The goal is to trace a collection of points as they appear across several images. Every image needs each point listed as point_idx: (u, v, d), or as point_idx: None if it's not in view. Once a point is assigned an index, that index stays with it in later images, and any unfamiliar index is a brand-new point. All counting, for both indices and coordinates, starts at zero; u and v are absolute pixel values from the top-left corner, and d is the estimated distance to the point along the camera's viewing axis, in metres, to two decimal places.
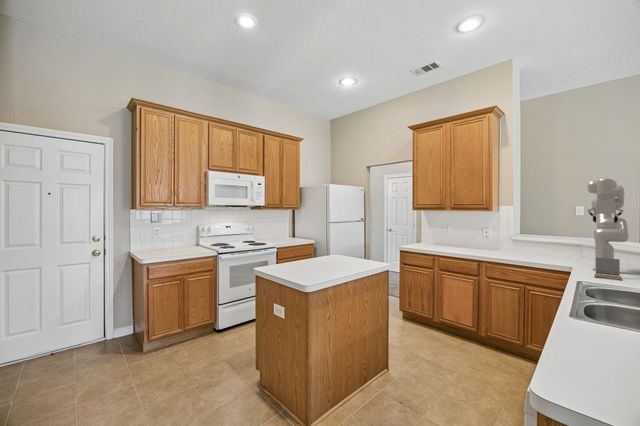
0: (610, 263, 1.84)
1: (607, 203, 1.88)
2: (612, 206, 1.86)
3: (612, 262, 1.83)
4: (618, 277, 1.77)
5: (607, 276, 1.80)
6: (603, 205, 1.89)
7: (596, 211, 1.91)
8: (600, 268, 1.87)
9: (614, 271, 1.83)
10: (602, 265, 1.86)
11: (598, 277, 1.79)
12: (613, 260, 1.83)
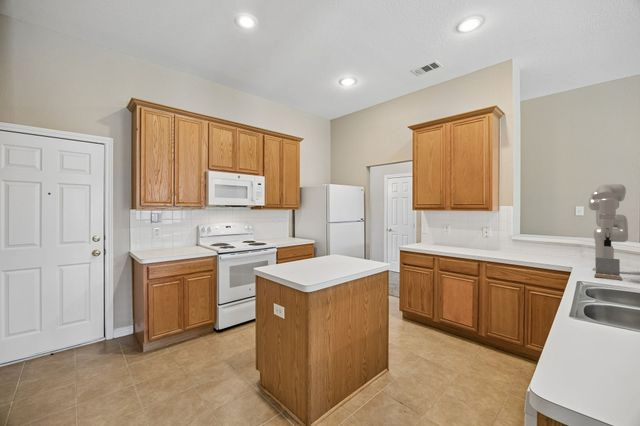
0: (610, 263, 1.84)
1: None
2: None
3: (612, 262, 1.83)
4: (618, 277, 1.77)
5: (607, 276, 1.80)
6: (613, 226, 1.78)
7: (612, 233, 1.76)
8: (600, 268, 1.87)
9: (614, 271, 1.83)
10: (602, 265, 1.86)
11: (598, 277, 1.79)
12: (613, 260, 1.83)
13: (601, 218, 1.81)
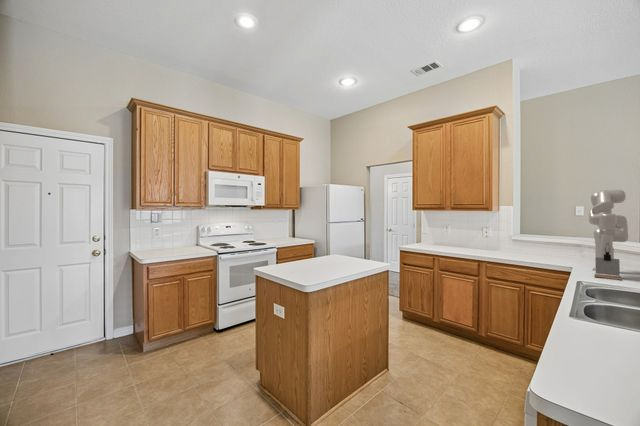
0: (610, 262, 1.85)
1: None
2: None
3: (612, 262, 1.84)
4: (618, 277, 1.77)
5: (607, 276, 1.80)
6: (612, 241, 1.83)
7: (611, 248, 1.81)
8: (600, 268, 1.88)
9: (614, 271, 1.83)
10: (602, 265, 1.87)
11: (598, 277, 1.79)
12: (613, 260, 1.84)
13: (601, 233, 1.85)
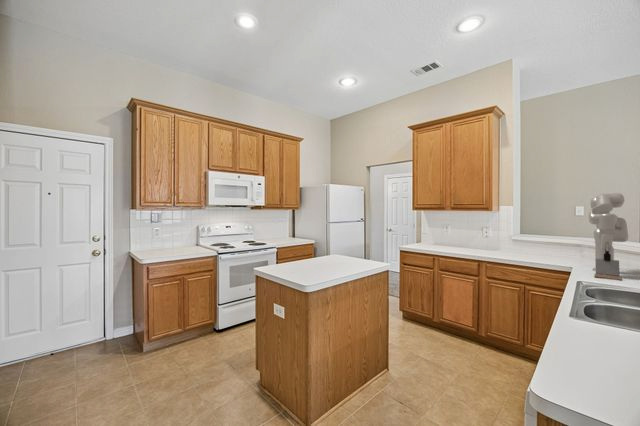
0: (610, 263, 1.87)
1: None
2: None
3: (612, 263, 1.87)
4: (618, 277, 1.77)
5: (607, 276, 1.80)
6: (612, 241, 1.87)
7: (611, 247, 1.85)
8: (600, 268, 1.89)
9: (614, 271, 1.84)
10: (602, 265, 1.89)
11: (598, 277, 1.79)
12: (613, 261, 1.87)
13: (601, 233, 1.89)
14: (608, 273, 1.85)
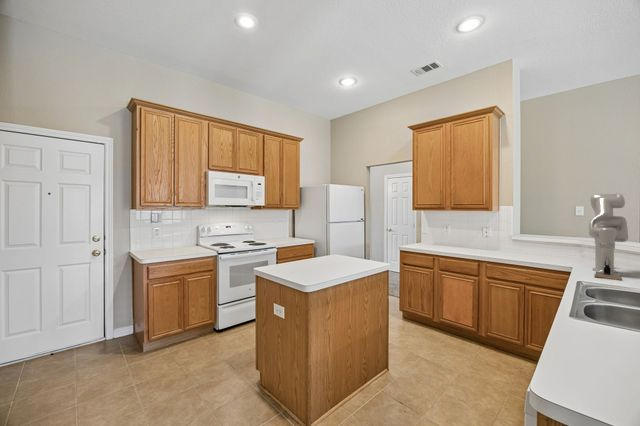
0: (610, 273, 1.90)
1: None
2: None
3: (611, 273, 1.90)
4: (618, 277, 1.77)
5: (607, 276, 1.80)
6: (612, 255, 1.89)
7: (611, 261, 1.87)
8: (600, 273, 1.91)
9: (614, 275, 1.86)
10: (602, 273, 1.92)
11: (598, 277, 1.79)
12: (612, 273, 1.91)
13: (601, 246, 1.92)
14: None
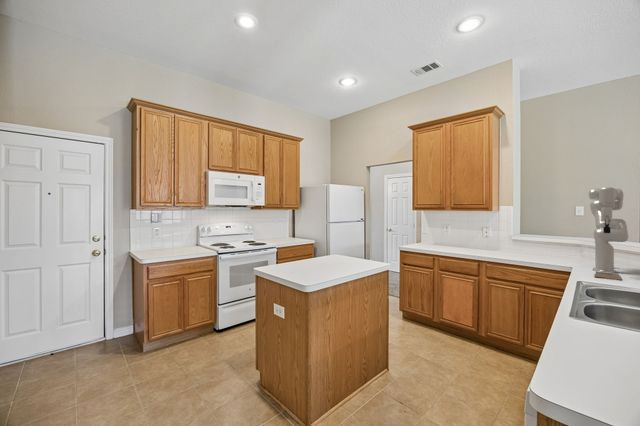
0: (610, 273, 1.90)
1: None
2: None
3: (611, 273, 1.90)
4: (618, 277, 1.77)
5: (607, 276, 1.80)
6: None
7: (611, 220, 1.85)
8: (600, 273, 1.91)
9: (614, 275, 1.86)
10: (602, 273, 1.92)
11: (598, 277, 1.79)
12: (612, 273, 1.91)
13: (601, 206, 1.90)
14: None
